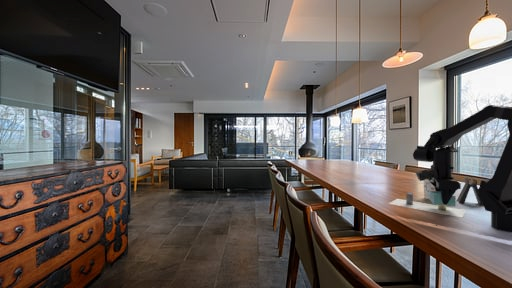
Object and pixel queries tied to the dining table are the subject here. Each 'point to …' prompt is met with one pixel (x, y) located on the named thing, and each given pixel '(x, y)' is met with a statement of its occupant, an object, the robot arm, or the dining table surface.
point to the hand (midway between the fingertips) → (442, 202)
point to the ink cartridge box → (428, 188)
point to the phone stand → (466, 189)
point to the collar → (437, 199)
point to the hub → (442, 207)
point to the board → (427, 206)
